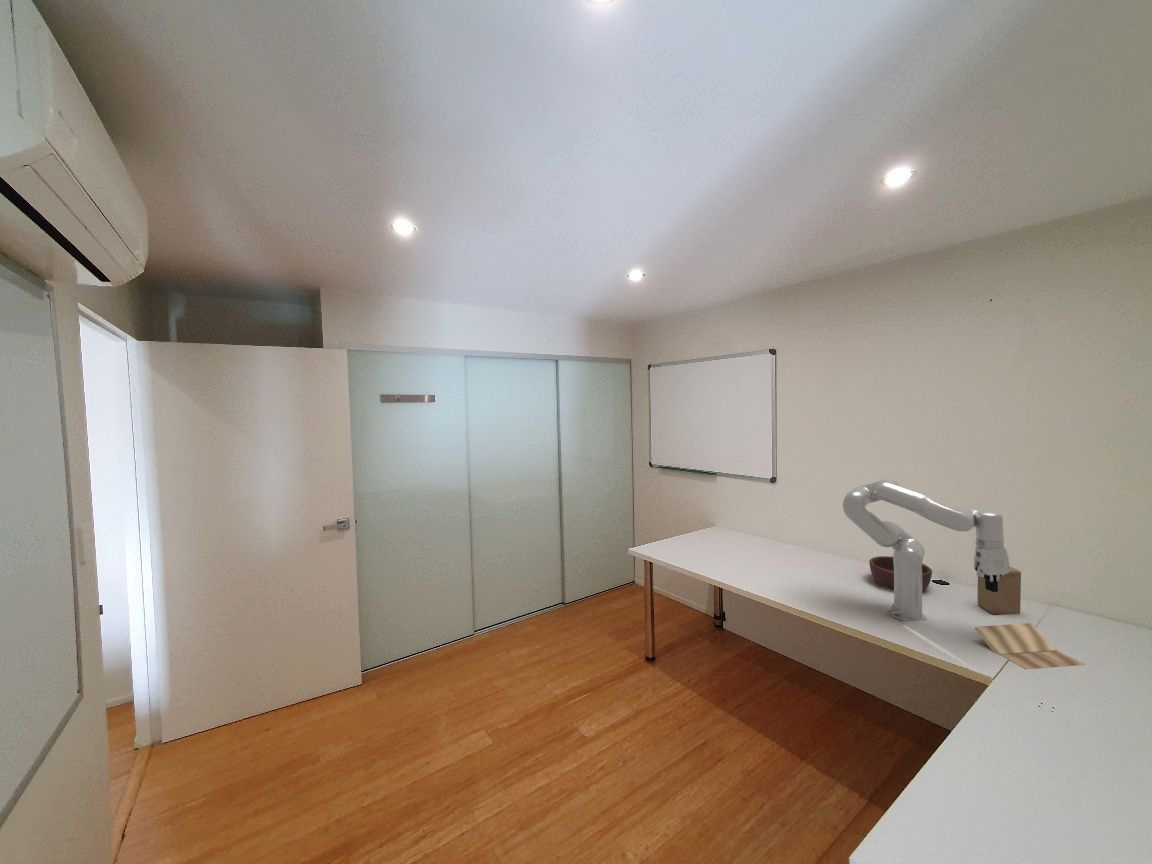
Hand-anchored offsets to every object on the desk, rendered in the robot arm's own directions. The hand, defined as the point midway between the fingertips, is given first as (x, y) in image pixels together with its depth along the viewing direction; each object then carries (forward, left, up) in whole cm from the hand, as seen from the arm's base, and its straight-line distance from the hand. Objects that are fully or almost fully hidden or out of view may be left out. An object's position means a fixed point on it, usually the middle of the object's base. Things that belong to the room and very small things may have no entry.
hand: (991, 590), depth 160 cm
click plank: (+1, -7, -16) cm, 17 cm away
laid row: (+1, -16, -19) cm, 25 cm away
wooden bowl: (+5, +49, -20) cm, 53 cm away
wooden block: (+24, +19, -19) cm, 36 cm away
